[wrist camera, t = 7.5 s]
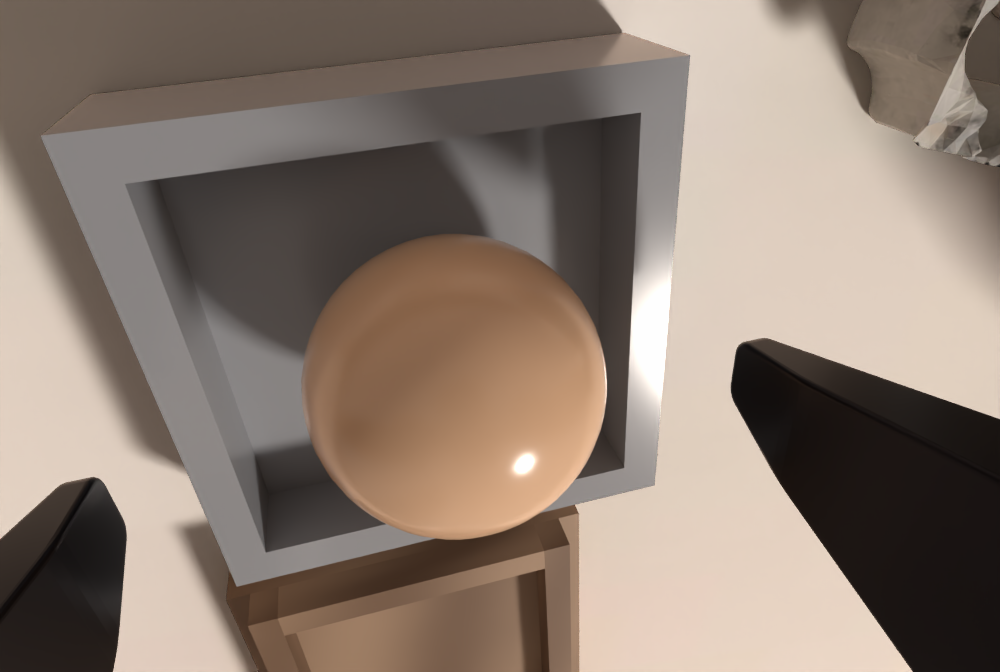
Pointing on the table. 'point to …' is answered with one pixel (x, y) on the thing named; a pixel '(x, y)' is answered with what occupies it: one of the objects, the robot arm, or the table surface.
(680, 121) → the dish
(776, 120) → the table surface
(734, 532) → the table surface
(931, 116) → the egg carton
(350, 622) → the rack
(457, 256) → the egg brown
